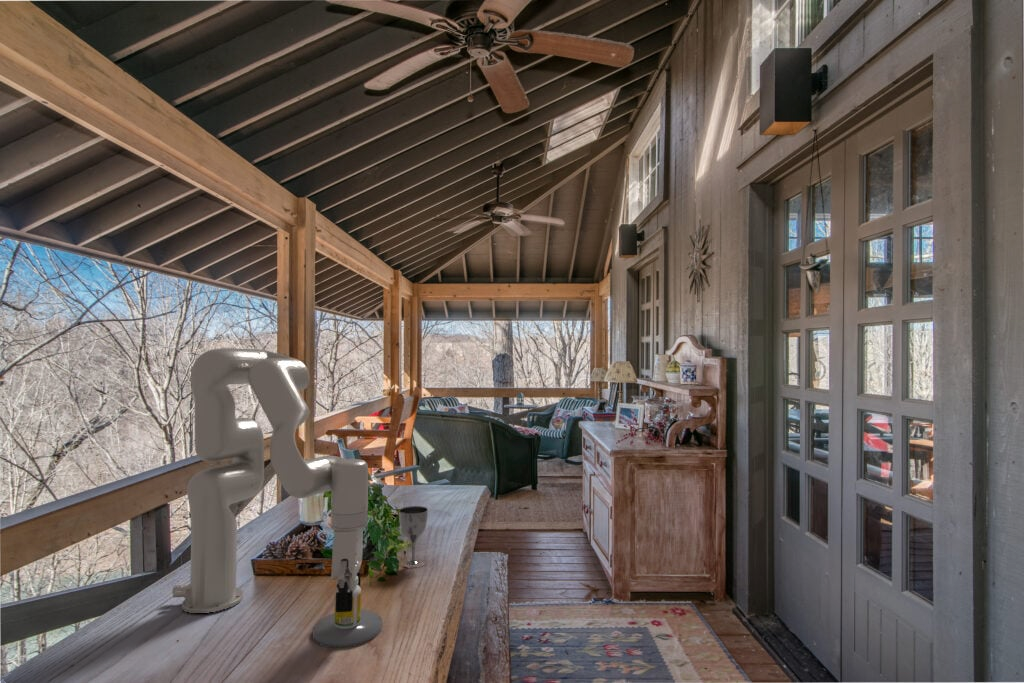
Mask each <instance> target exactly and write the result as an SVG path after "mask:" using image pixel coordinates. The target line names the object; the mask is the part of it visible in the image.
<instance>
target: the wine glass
mask: <svg viewBox="0 0 1024 683" xmlns="http://www.w3.org/2000/svg"><path fill="white" fill-rule="evenodd" d="M428 512H429V511H428V507H426V506H422V505H420V506H419V505H411V506H405V507H402V508H399V511H398V518H399V519H398V520H399V527H400V530H401V532H402V533H403V535H404V536H405V537H406V538H407V540H408V542H409V543H410V547H411V560H409V559H407V560H408V561H406V562H405V563H406V564H407V565H408V564H409V565H415V564H418V563H419V562H420V561H419V560H416V559H417V558H415V557H416V556H415V555H416V552H415V551H416V544H417V541H418V540H419V538H420V537H421V535H423V533H424V531H426V527H427V524H428V517H429V516H428V515H429V513H428Z"/></svg>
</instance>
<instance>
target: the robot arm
mask: <svg viewBox="0 0 1024 683" xmlns="http://www.w3.org/2000/svg"><path fill="white" fill-rule="evenodd" d="M310 379H311V377H310V372H309V368H308V367H307V366H306V364H305V363H304V362H303V361H301V360H299V359H297V358H295V357H292V356H288V355H284V354H280V353H276V352H273V351H270V350H266V349H257V348H255V349H254V348H235V347H234V348H233V347H231V348H230V347H224V348H223V347H221V348H215V349H214V348H213V349H210V350H207V351H205V352H203V353H202V354H200V355H199V356H198V357H197V358H196V359H195V361H194V363H193V364H192V367H191V371H190V382H191V388H192V389H191V390H192V394H193V400H194V447H195V448H194V449H195V453H196V455H197V458H199V459H200V460H201V461H204V462H210V463H211V462H217V461H223V460H230V459H231V463H227V464H222V465H216V466H212V467H208V468H207V467H206V468H204V469H202V470H200V471H198V472H197V473H195V474H194V475H193V476H192V477H191V478H190V479H189V481H188V484H187V487H186V496H187V501H188V505H189V510H190V512H189V513H190V525H191V526H190V527H191V528H190V530H191V534H190V535H191V537H190V539H191V540H190V541H191V542H190V573H189V574H190V576H189V577H190V582H189V583H188V584H187V585H185V584H184V585H183V584H181V585H180V584H178V585H174V586H173V588H172V597H173V598H184V600H183V601H182V603H181V609H182V611H183V610H184V611H183V612H185V613H187V612H189V613H188V614H190V613H207V612H213V611H218V612H220V611H219V610H222V611H224V610H223V609H225V610H228V609H230V608H232V607H234V606H236V605H238V604H239V603H240V602H241V601H242V600H243V599H244V592H243V591H244V590H242V589H240V588H239V587H237V560H238V559H237V556H238V555H237V554H238V553H237V551H238V550H237V549H238V522H237V519H236V516H235V514H234V513H233V511H232V510H231V507H230V505H233V504H235V503H236V504H237V503H239V502H242V501H245V500H249V499H252V498H254V497H255V496H257V495H259V493H260V491H261V490H262V488H263V486H264V479H265V438H264V433H263V430H262V428H261V426H260V425H259V423H258V422H257V421H256V420H254V419H252V418H249V417H237V418H236V402H235V398H234V396H233V393H231V391H230V388H228V387H227V386H229V385H246V384H249V385H250V387H251V389H252V392H253V393H254V395H255V397H256V399H257V401H258V402H259V405H260V407H261V408H262V411H263V412H264V414H265V416H266V418H267V420H268V422H269V424H270V425H271V429H272V432H271V436H270V441H269V459H270V463H271V467H272V469H273V471H274V473H275V475H276V477H277V480H279V482H280V484H281V486H282V487H283V489H284V490H285V492H287V493H288V495H290V496H291V497H293V498H296V499H306V498H310V497H312V496H316V495H318V494H322V493H325V492H330V491H331V492H330V494H331V496H330V498H331V499H330V500H331V502H330V529H332V530H333V531H334V533H333V541H332V542H333V543H332V553H331V554H332V555H331V572H330V573H331V576H330V579H332V580H333V581H334V580H336V579H337V582H336V583H337V584H336V590H335V591H336V612H351V611H352V603H353V590H352V591H351V586H352V579H353V578H355V577H356V575H357V576H358V584H357V585H358V586H360V587H361V579H362V578H361V574H362V572H361V566H362V562H363V546H364V540H363V539H364V538H363V537H364V536H363V535H364V534H363V530H364V528H366V527H368V525H369V524H368V523H369V522H368V521H369V520H368V518H369V515H368V514H369V513H368V512H369V509H368V508H369V505H368V504H369V466H368V463H367V462H366V461H365V460H364V459H358V458H344V457H340V456H336V455H330V454H329V455H322V456H320V457H319V456H318V457H315V458H310V459H306V460H304V458H303V456H302V454H301V452H300V450H299V448H298V446H297V441H296V433H297V429H298V428H299V427H301V425H303V424H304V423H305V422H306V421H307V419H308V418H309V416H310V414H311V412H310V409H309V407H308V404H307V402H306V401H305V399H304V398H303V395H302V394H301V392H303V391H304V390H305V389H306V388H307V387H308V386H309V383H310ZM348 574H350V575H348ZM345 580H349V582H348V583H347V582H345ZM229 607H230V608H229ZM227 608H228V609H227Z"/></svg>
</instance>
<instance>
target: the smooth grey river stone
mask: <svg viewBox="0 0 1024 683" xmlns="http://www.w3.org/2000/svg"><path fill="white" fill-rule="evenodd" d="M334 620H335V612H333V613H330V614H328V615H326V616H324V617H322V618H321V619H319V620H318V621H317V622H315V624H314V626H313V629H312V637H313V638H312V639H313V640H314V641H315V643H317V644H318V643H319V644H318V645H320V644H321V646H323V647H326V646H327V648H341V649H342V648H349V646H350V647H354V645H355V646H359V645H363V644H364V643H367V642H370V641H371V640H373V639H374V638H376V637H377V636H379V635H380V633H381V632H382V630H383V618H382V616H381V615H380V614H379V613H377V612H375V611H373V610H369V609H361V621H360V623H359V625H357V626H356V627H354V628H351V629H338V628H337V627H335V623H334Z"/></svg>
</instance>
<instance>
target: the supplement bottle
mask: <svg viewBox="0 0 1024 683" xmlns="http://www.w3.org/2000/svg"><path fill="white" fill-rule="evenodd" d="M348 575H350V574H348ZM345 582H347V583H348V582H349V580H345ZM357 584H358V576H357V575H356V577H355V578H353V579H352V586H351V591H352V590H353V603H352V611H351V612H336V590H335V591H334V613H335V620H334V623H335V627H337V628H338V629H351V628H354V627H356V626H357V625H359V623H360V621H361V610H362V608H361V607H362V588H361V585H360V586H358V585H357Z"/></svg>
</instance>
